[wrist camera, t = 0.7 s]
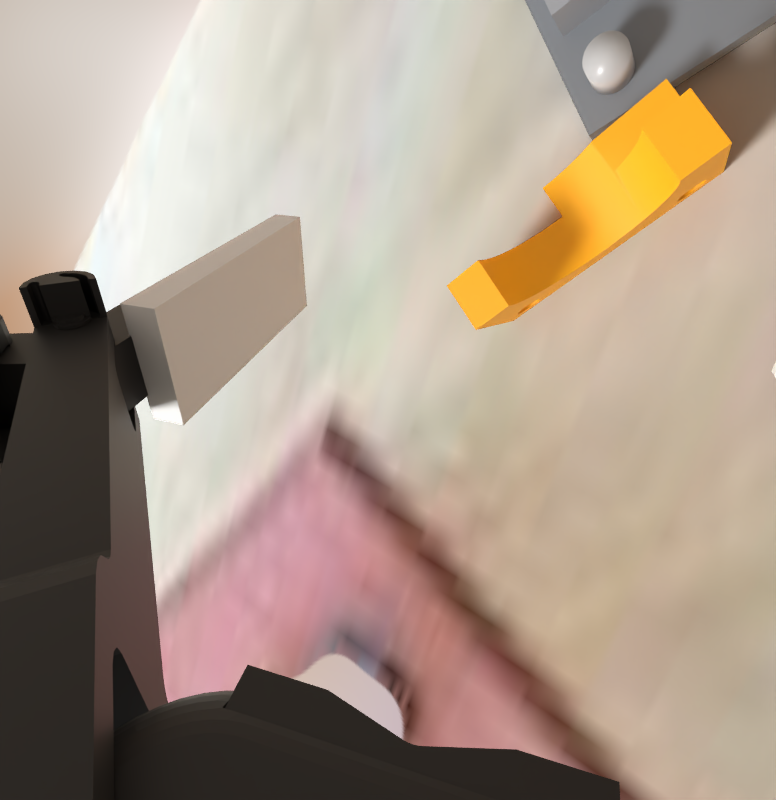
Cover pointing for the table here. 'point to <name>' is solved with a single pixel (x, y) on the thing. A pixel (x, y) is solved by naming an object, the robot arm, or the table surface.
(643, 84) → the chassis
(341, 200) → the table surface
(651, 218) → the orange bracket
